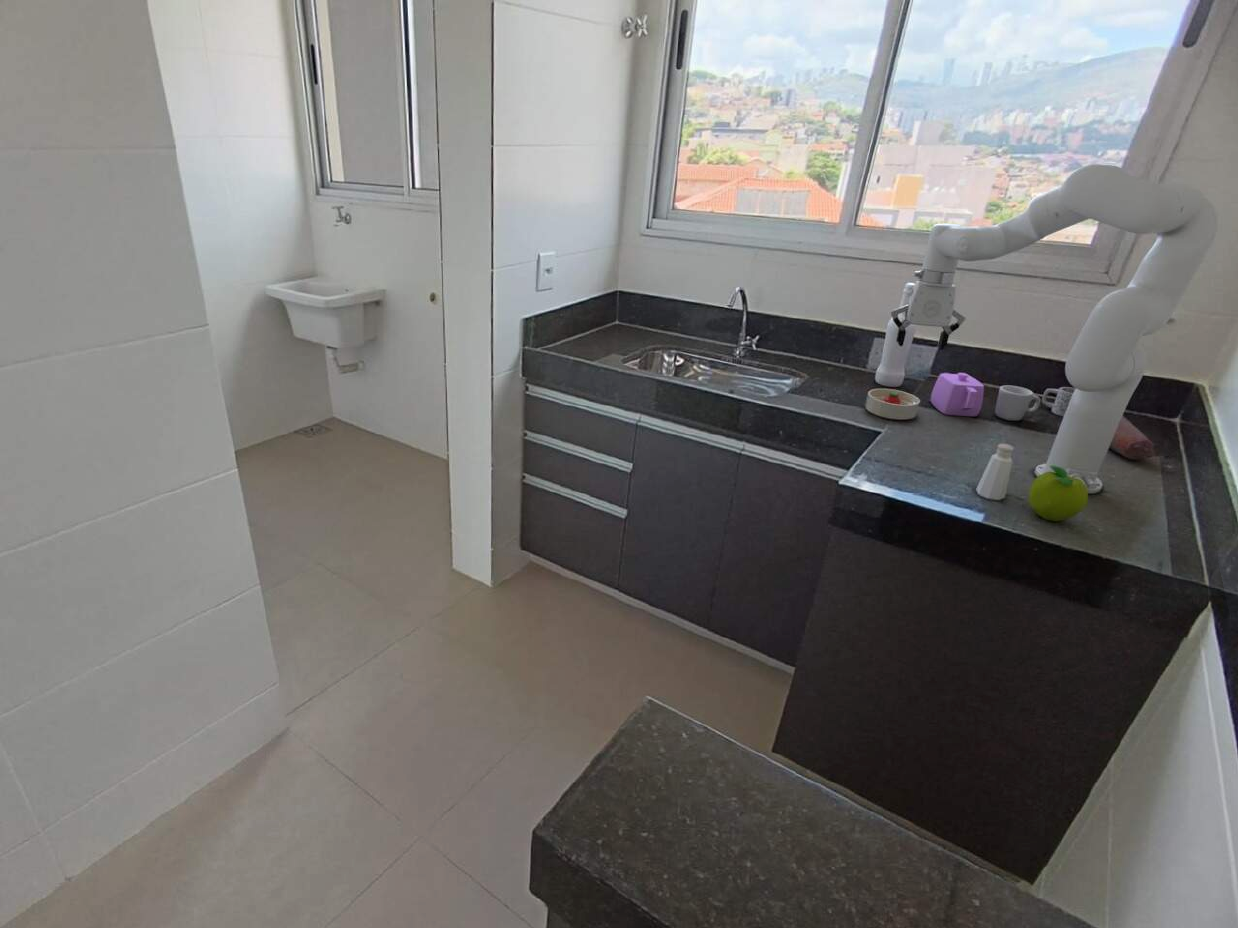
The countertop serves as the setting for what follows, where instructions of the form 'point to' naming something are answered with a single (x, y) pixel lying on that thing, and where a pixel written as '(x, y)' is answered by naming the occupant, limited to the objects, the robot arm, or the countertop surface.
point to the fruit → (1057, 495)
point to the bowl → (892, 411)
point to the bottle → (896, 348)
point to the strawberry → (893, 398)
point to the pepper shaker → (996, 474)
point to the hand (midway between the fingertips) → (920, 346)
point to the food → (1131, 442)
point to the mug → (1059, 399)
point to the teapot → (957, 394)
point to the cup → (1014, 402)
